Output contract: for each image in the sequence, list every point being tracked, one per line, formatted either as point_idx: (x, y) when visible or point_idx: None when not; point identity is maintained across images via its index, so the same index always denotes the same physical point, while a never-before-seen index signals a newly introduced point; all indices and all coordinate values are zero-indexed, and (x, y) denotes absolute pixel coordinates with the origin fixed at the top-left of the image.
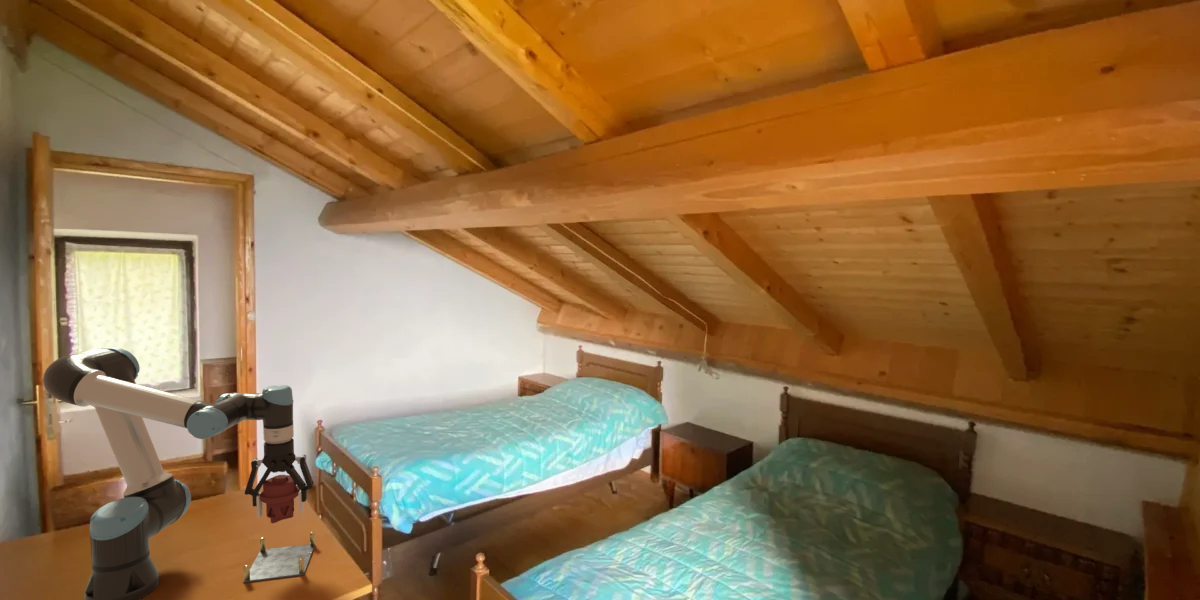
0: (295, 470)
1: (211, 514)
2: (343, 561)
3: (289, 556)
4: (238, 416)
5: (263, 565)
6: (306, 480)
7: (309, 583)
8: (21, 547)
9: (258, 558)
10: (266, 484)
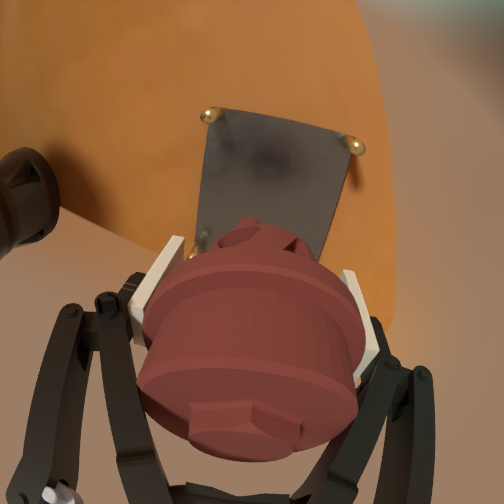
0: (357, 476)
1: None
2: (393, 252)
3: (287, 179)
4: None
5: (227, 199)
6: (390, 436)
7: None
8: None
9: (210, 156)
10: (170, 429)
